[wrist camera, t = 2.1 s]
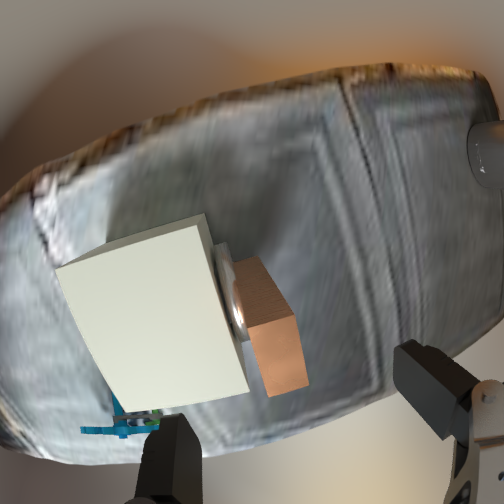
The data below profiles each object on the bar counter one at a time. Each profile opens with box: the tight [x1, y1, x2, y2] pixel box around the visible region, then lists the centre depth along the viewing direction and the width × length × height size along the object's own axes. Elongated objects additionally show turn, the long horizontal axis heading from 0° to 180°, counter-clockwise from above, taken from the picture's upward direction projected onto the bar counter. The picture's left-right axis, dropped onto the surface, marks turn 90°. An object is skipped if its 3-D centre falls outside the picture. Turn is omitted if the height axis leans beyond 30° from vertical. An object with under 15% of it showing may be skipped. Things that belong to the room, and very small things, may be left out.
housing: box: [55, 213, 250, 412], centre depth 21 cm, size 10×12×10 cm
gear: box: [80, 392, 163, 439], centre depth 26 cm, size 11×6×10 cm
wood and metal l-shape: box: [213, 242, 309, 397], centre depth 18 cm, size 9×8×14 cm
